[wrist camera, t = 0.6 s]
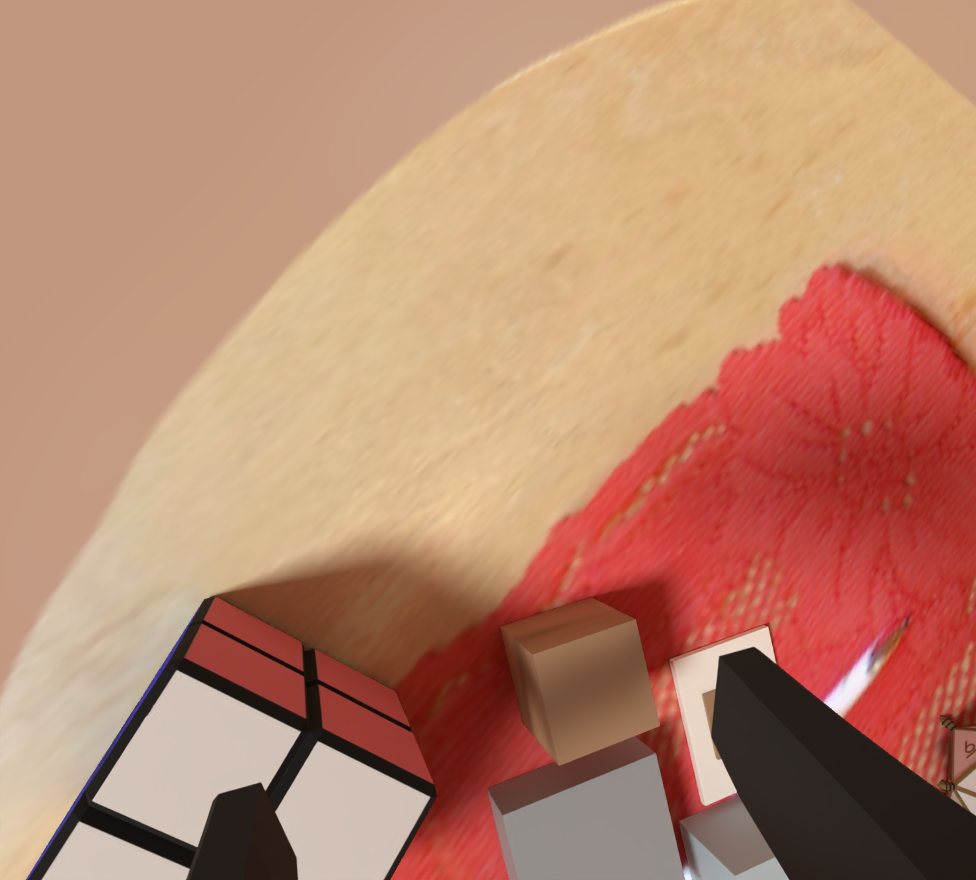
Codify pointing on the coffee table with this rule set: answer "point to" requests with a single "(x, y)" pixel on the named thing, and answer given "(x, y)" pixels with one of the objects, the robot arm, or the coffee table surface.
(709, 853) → the gray block
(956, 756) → the game die
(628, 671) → the walnut block
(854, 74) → the coffee table surface
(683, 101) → the coffee table surface
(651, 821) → the slate base
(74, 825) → the puzzle cube
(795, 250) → the coffee table surface
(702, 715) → the card
